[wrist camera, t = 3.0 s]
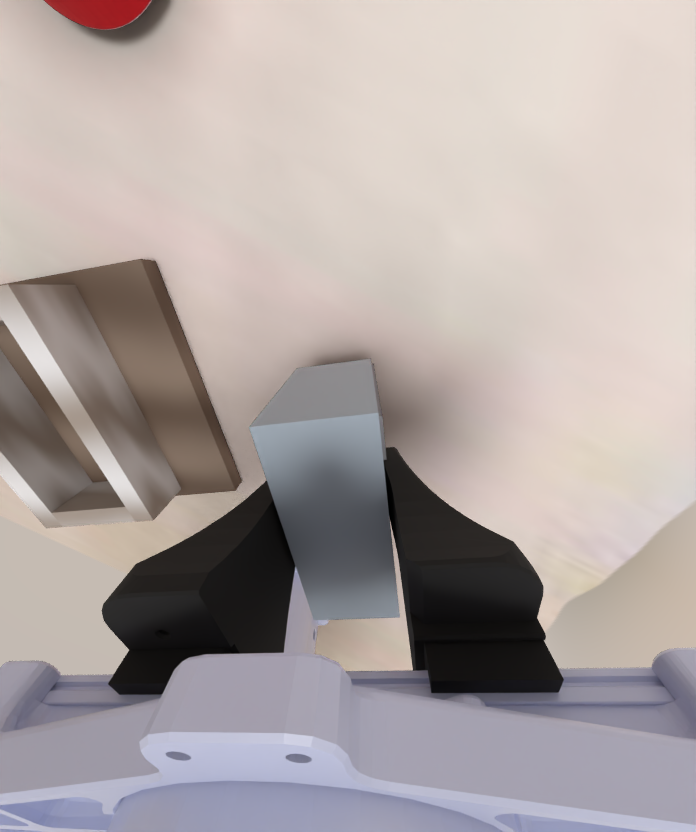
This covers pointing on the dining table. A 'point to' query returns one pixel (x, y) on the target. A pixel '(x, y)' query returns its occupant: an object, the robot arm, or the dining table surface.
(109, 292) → the post base
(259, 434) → the blue-grey block
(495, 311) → the dining table surface
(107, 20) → the beverage can
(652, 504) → the dining table surface
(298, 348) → the dining table surface
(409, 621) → the robot arm
